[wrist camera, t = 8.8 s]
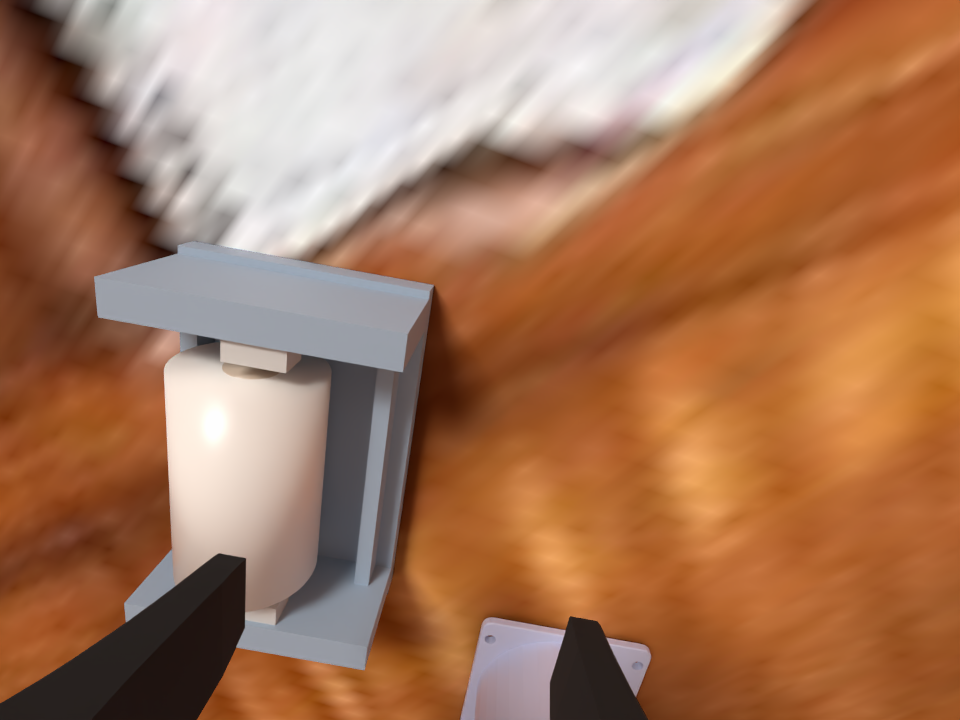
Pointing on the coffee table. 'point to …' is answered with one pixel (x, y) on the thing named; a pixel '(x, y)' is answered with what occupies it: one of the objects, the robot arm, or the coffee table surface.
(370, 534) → the holder
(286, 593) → the roll
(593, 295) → the coffee table surface
